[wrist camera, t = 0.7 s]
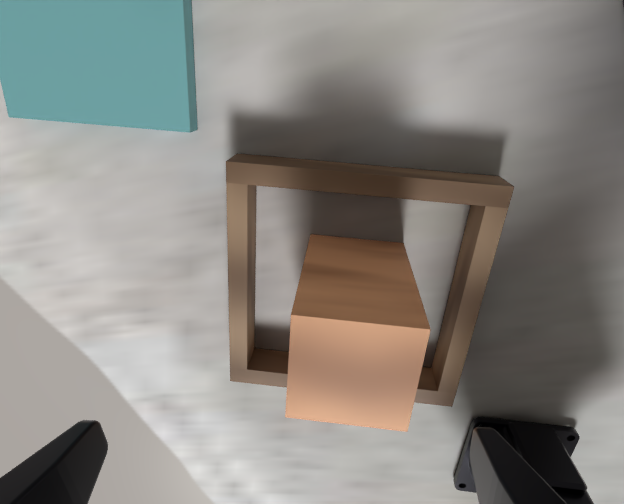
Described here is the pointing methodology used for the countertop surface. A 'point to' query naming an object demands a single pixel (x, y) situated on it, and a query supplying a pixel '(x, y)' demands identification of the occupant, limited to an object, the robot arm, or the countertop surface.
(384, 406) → the block
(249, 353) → the pocket frame
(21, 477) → the robot arm
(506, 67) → the countertop surface
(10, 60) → the plate
